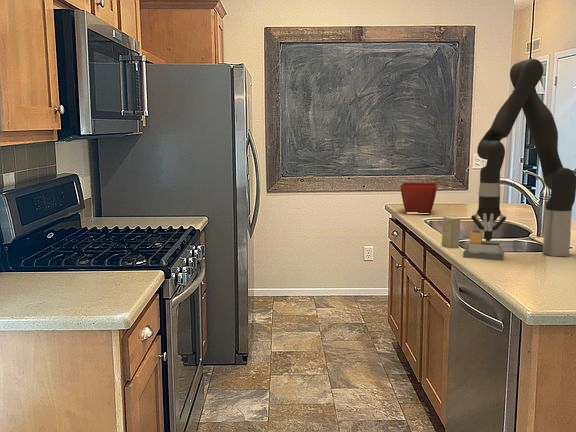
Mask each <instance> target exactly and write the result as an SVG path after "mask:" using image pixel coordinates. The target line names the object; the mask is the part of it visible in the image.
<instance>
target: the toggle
mask: <svg viewBox="0 0 576 432" xmlns="http://www.w3.org/2000/svg"><path fill="white" fill-rule="evenodd" d="M469 241H470V243H471V244H482V242H483V231H482V229H479V230H477V229H472V230H471V231H470V232H469Z"/></svg>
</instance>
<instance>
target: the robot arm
mask: <svg viewBox="0 0 576 432" xmlns="http://www.w3.org/2000/svg"><path fill="white" fill-rule="evenodd" d="M543 75H544V65H543V63H542V62H541V61H540V60H539V59H536V58H529V59H525V60H522V61H518V62H516V63H514V64H513V65H512V66H511V68H510V70H509V79H510V82H511V84H512V86H513V91H512V92H511V94H510V95H509V96H508V98H507V99H506V100H505V102H504V103H503V104H502V105H501V107H500V108H499V110H498V112H497V113H496V115H495V117H494V119H493V122H492V124H491V126H490V128H489V129H488V130H487V132H486V133H485V134H484V135H483V137H482V138H481V140H480V141H479V142H478V145H477V150H476V152H477V155H478V157H479V158H480V159H483V160H485V161H486V164H485V165H484V166H483V167H481V168H480V173H479V186H478V208H477V211H476V213H475V214H472V216H470V218H471V220H472V221H473V222H474V224H476V226H477V228H479V230H481V231H482V230H483V232H484V233H483V239H484V240H485V242H490V241H491V240H492V239H493V231H497V230H498V229H499V228H500V227H501V226H502V224H504V222H505V221H506V220H507V216H506V215H504V214H502V211H501V207H500V206H501V170H502V168H503V164H504V160H505V157H506V149H505V145H504V144H503V142H501V141H502V140H503V139H506V138H508V136H509V135H510V133H511V132H512V129H513V128H514V125H515V122H516V121H517V118H518V116H519V114H520V113H521V111H523V115H524V117H525V120H526V123H527V126H528V127H527V128H528V131H529V133H530V137H531V139H532V142H533V145H534V148H535V151H536V153H537V156H538V159H539V164H540V168H541V173H542V174H541V175H542V177H543V182H544V184H545V186H546V188H548V189H549V190H550V197H549V198H548V200H547V201H546V202H545V207H544V208H545V209H544V210H545V211H544V226H543V227H544V228H543V241H542V242H543V243H542V254H543V255H547V256H550V257H551V256H552V257H570V252H571V251H570V250H571V249H570V247H571V234H572V233H571V232H572V231H571V228H572V216H573V215H572V212H573V206H574V204H575V200H576V173H575V172H574V171H573V170H572V169H570V168H568V167H567V168H566V167H564V166H563V164H562V161H561V158H560V155H559V149H558V146H559V145H558V144H559V131H558V128H557V124H556V121H555V118H554V115H553V114H552V111H550V109H549V108H548V107H547V105H546V104H545V103H544V102H543V101H542V99H541V98H540V96H539V94H538V92H537V89H536V87H537V86H538V84H539V82H540V81H541V79H542V78H543ZM479 218H480V219H481V221H482V222H483V224H482V223H481V222H480V220H479ZM498 218H499V219H498ZM497 220H498V222H497V223H496V224H495V225H494V223H495V222H496V221H497Z"/></svg>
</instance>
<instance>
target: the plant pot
mask: <svg viewBox="0 0 576 432" xmlns="http://www.w3.org/2000/svg"><path fill="white" fill-rule="evenodd" d="M438 185H439V184H438V182H403V183H402V184H400V192H401V199H402V203H403V207H404V210H405V213H406V212H418V213H430V214H431V213H432V211H433V207H434V203H435V199H436V195H437V189H438ZM431 210H432V211H431Z"/></svg>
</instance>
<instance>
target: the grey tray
mask: <svg viewBox="0 0 576 432" xmlns="http://www.w3.org/2000/svg"><path fill="white" fill-rule="evenodd" d="M503 247H504V245H503V242H492V241H491V242H490V241H482V244H471V243H470V240H467V241H466V243H465V249H464V250H463V252H462V257H463V258H469V259H470V258H471V259H482V260H493V261H494V260H495V261H504V257H505V250H503Z"/></svg>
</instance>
